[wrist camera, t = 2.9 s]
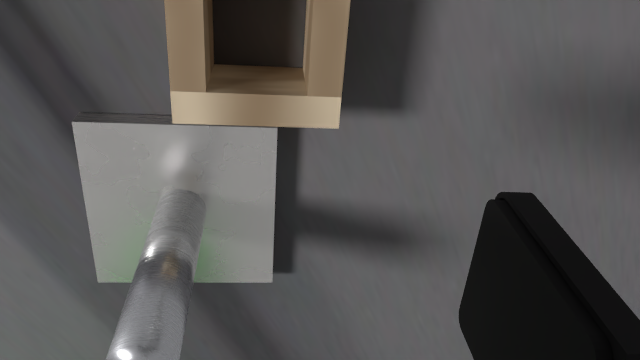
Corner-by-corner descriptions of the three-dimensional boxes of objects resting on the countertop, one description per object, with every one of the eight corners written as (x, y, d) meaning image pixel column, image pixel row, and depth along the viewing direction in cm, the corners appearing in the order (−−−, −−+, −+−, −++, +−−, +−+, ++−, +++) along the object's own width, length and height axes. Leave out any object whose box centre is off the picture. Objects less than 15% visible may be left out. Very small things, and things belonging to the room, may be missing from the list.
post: (277, 118, 29) (281, 262, 18) (272, 269, 34) (273, 452, 23) (79, 112, 28) (-39, 261, 17) (103, 269, 33) (23, 460, 22)
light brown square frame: (342, -57, 25) (354, -46, 21) (330, 97, 28) (338, 128, 25) (176, -68, 24) (160, -58, 21) (184, 91, 28) (172, 123, 24)
